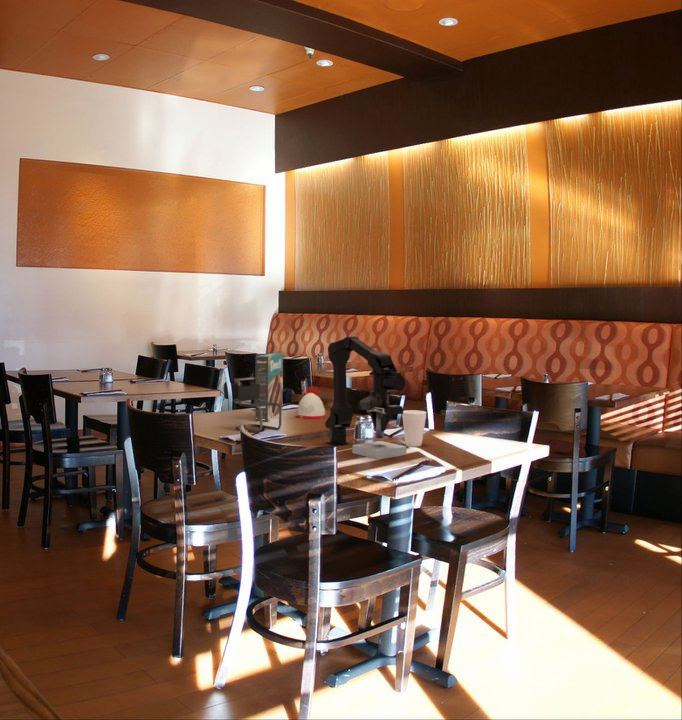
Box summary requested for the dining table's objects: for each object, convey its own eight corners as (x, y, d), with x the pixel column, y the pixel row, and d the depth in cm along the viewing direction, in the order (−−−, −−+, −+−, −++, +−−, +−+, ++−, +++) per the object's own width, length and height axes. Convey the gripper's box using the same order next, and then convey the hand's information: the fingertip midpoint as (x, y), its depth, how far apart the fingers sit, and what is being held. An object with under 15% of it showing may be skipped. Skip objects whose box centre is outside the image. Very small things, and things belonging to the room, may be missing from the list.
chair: (253, 425, 339) (253, 376, 337) (282, 430, 328) (282, 379, 327) (231, 429, 329) (231, 378, 327) (260, 434, 318) (261, 381, 317)
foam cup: (397, 443, 302) (398, 410, 301) (418, 442, 305) (419, 409, 304) (408, 447, 293) (408, 414, 292) (429, 446, 297) (430, 413, 296)
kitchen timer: (321, 420, 358) (321, 388, 357) (292, 418, 361) (293, 387, 360) (328, 416, 372) (328, 385, 370) (301, 414, 375) (301, 384, 374)
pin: (373, 437, 281) (374, 411, 280) (379, 436, 282) (380, 411, 282) (379, 438, 278) (380, 412, 278) (385, 437, 280) (386, 412, 279)
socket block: (352, 453, 282) (352, 445, 281) (380, 448, 291) (380, 440, 290) (378, 459, 271) (378, 451, 271) (406, 454, 280) (406, 446, 280)
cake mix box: (267, 422, 350) (268, 356, 348) (255, 421, 352) (255, 356, 349) (282, 415, 372) (282, 353, 369) (270, 414, 373) (271, 353, 371)
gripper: (347, 387, 281) (346, 429, 282) (382, 392, 267) (381, 437, 268) (369, 385, 288) (368, 426, 289) (404, 390, 274) (403, 433, 275)
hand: (379, 430), depth 280 cm, fingers closed on pin, 3 cm apart
